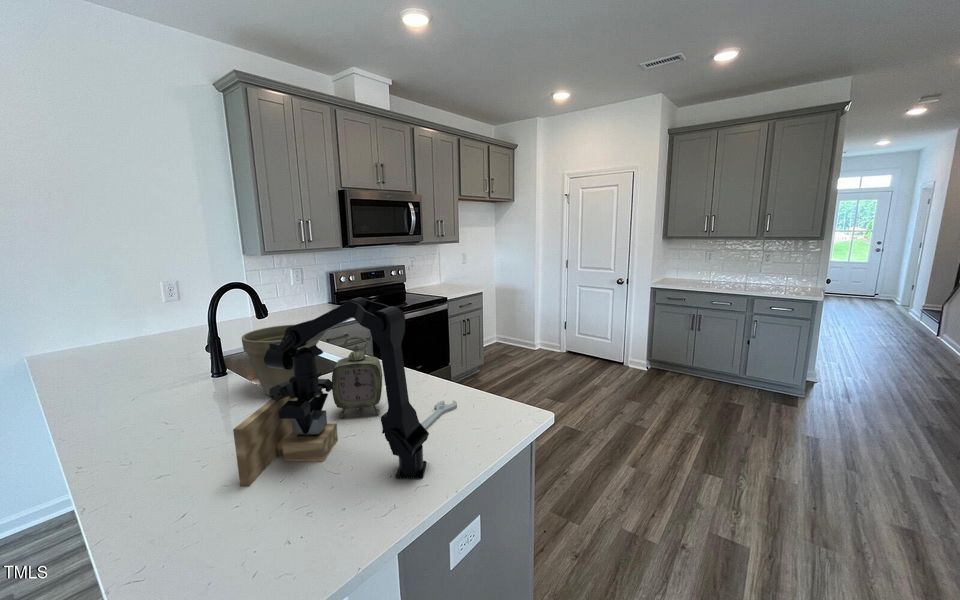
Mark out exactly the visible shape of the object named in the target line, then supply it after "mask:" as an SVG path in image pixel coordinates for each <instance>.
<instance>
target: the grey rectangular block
mask: <svg viewBox="0 0 960 600" xmlns="http://www.w3.org/2000/svg"><path fill="white" fill-rule="evenodd" d="M327 417H328V416H327V410H326V409H325V410H324V409H322V410H314V412H313V416H312V420H311V424H310V428H309V431H308V433H307V434H304V433H303V432H302V430H301V428H300V426H299V424H298V422H297V421H296V419H292V420H291V421H292V431H293V434H300V436H319V435H320V434H321V431H322V430H323V429H324V428H325V426H326V425H327V424H328V420H327V419H328V418H327Z"/></svg>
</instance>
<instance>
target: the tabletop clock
mask: <svg viewBox="0 0 960 600" xmlns="http://www.w3.org/2000/svg"><path fill="white" fill-rule="evenodd" d="M351 340H362V341H364V342H365V345H364V346H361V347H359V346H358V345H354V347H349V346H347V345H346V344H347V343H348V342H349V341H351ZM368 343H369V342H368V340H367V339H366V338H364V337H362V336H351V337H349V338H346V340H344V343H343V347H345V348H346V350H350V351H351V352H350V353H349V355H348V357H343V358H341V359H338V360H337V362H336V364H335V366H334V369H333V371H332V374H331V381H332V386H333V388H332V389H331V392H332V397H333V402H334V404H335V405H336V407H337V408H338V409H339V408H340V409H342V411H341V412H339V413H338V417H339V419H340V418H341V419H342V418H344V417H345V411H346V410H349V409H350V410H353V409H354V410H355V409H356V410H357V409H358V410H359V411H362V410H363V409H365V408H371V407H373V409H374V414H375V415H377V416H378V415H379V414H380V413H381V411H380V409H377V407H376V405H379V403H380V401H381V398H382V390H383V368H382V365H381V364H382V363H381V361H380V359H379V358H378V357H376V356H371V355H366V354H365V353H364V352H363V351H362V350H364V349H366V347H368Z"/></svg>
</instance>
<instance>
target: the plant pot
mask: <svg viewBox="0 0 960 600" xmlns="http://www.w3.org/2000/svg"><path fill="white" fill-rule="evenodd" d="M292 325H293V324H284V325H277V326H276V325H275V326H269V327H263V328H260V329H255V330H252V331H249V332H247V333H244V334H243V335H242V336H241V343H242V347H243V348H242V349H243V351H244V352H245V354H247V355H248V358H249V360H250V363H251V365H252V367H253V370H254V372H255V374H256V376H257V379H258V381H259V384H260V387H261V388H262V390H263V392H264V394H265V395H267V396H269V389H270V388H271V387H273V386H274V387H275V386H276V385H279V384H281V383H283V382H286V381H289V379H290V378H291V377H293V368H292V369H290V370H285V369H277V368H270V367H267V366H266V365H265V363H264V357H265V354H266V352H267V350H268V349H269V348H270V347H269V344H270V343H273V342H280V343H281V341H282V339H283V337H284V335H285V330H286V328H287V327H289V326H292ZM319 342H320V338H319V339H318V340H317V341H315V342H313V343H310V344H308V345H305V346H302V347H308V348H309V347H312V346H314V345H316V346H317V344H319ZM302 347H300V348H302ZM300 348H297V349H300Z"/></svg>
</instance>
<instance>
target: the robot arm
mask: <svg viewBox="0 0 960 600" xmlns="http://www.w3.org/2000/svg"><path fill="white" fill-rule="evenodd" d="M351 319H354V320H355V321H356V322H357V323H358V324H359V325H360V326H361V327H364V328H365V329H368V330H369V333H370V336H371V338H372V340H373V341H374V343H375V344H376V345H377V347H378V349H379V351H380V359H381V364H382V365H381V367H382V373H383V379H384V385H385V392H386V397H387V399H386V400H387V404H388V405H387V406H388V407H387V411H386V412H385V413H384V414H382V415H381V416H380V423H381V426H382V432H381V434H382V435H383V434H384V437H385V440H386V441H387V443H388V445H389V447H390V450H391V453H392V455H393V456H397V457H398V467H397V470H396V473H395V474H394V475H395V476H394V477H395V479H423V478H424V476H425V475H424V474H425V471H426V469H427V468H426V467H427V463H428V462H427V461H426V460H424V452H423V451H424V449H423V448H424V447H423V444H424V443H425V442H427V441H428V438H429V435H430V433H429V431H428V429H427V430H426V429H425V428H424V427H423V426H422V425H421V423H422V422H420V420H419V417H418V414H417V411H416V409H415V408H414V407H413V405H412V404H411V403H410V399H409V391H408V384H407V378H406V370H405V363H404V362H405V361H404V356H403V348H402V344H403V343H402V342H403V339H404V335H405V333H406V332H405V331H406V316H405V313H404V311H403V310H402V309H400V307H398V306H389V305H387V304H384V303H380V302H376V301H372V300H369V299H367V298H364V297H361V296H359V297H355V298H352V299H347V301H346V302H345V303H343V304H341V305H339V306H337V307H335V308H333V309H331V310H330V311H327V312H325V313H323V314H322V315H320V316H318V317H316V318H313V319H310V320H306V321H302V322H299V323H297V324H291V325H292V326H289V327H287V328H286V330H285V335H284V337H283V339H282V341H281V343H280V342H273V343H270V344H269V347H270V348H269V349H268V350H267V352H266V354H265V357H264V363H265V365H266V366H267V367H270V368H277V369H285V370H290V369H292V368H293V377H291V378H290V379H289V381H286V382H283V383H281V384H279V385H276V386H275V387H274V386H273V387H271V388H270V389H269V395H268V397H269V399H270V400H271V399H272V400H275V401H279V400H280V399H283V398H285V397H288V396H290V399H294V398H297V400H296V401H288V402H286V403H285V404H284V405H283V406H282V407H281V408H280V409H279V410H278V414H279V418H280V419H296V421H297V422H298V424H299V426H300V428H301V430H302V432H303V433H304V434H307V433H308V431H309V428H310V424H311V420H312V416H313V412H314V410H323V408H324V405H325V402H326V400H327V398H328V396H329V392H332V388H333V386H332V380H331V379H330V378H320V377H321V376H322V372H321V371H318V360H317V356H321V355H322V354H324V351H323V350H322V349H321V348H320V347H318V346H317V344H316V345H314V346H312V347H309V348H308V347H302V346H305V345H308V344H310V343H313V342H315V341H317V340H318V339H319V340H320V339H321V338H322V337H323V336H324V334H325V333H326V332H328V331H329V330H331V329H333V328H336V327H337V326H339V325H341V324H343V323H346V322H347V321H349V320H351ZM300 347H302V348H300ZM297 348H300V349H297ZM323 389H325V391H326V392H323Z"/></svg>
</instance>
